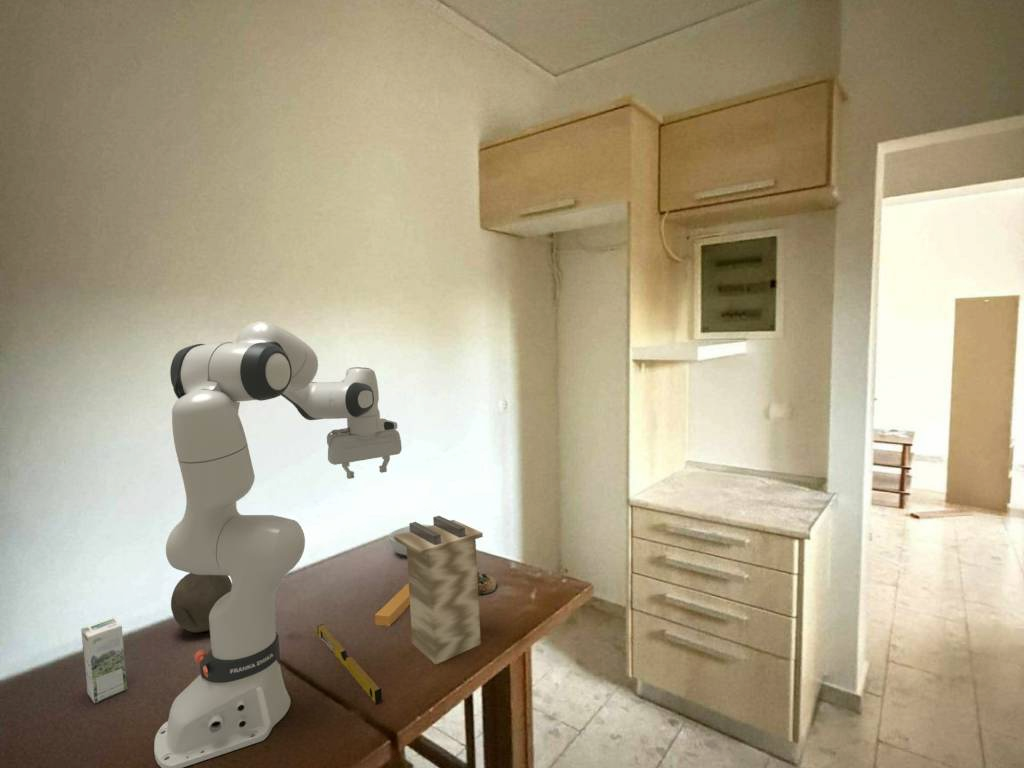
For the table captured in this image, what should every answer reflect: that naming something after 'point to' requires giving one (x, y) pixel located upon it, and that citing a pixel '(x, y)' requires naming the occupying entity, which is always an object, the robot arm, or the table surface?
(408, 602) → the long orange beam
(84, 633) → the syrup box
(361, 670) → the spirit level
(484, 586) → the bread roll
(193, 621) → the dark grey ball
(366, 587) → the table surface
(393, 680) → the table surface
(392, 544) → the cereal bowl
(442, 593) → the stand
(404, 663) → the table surface
